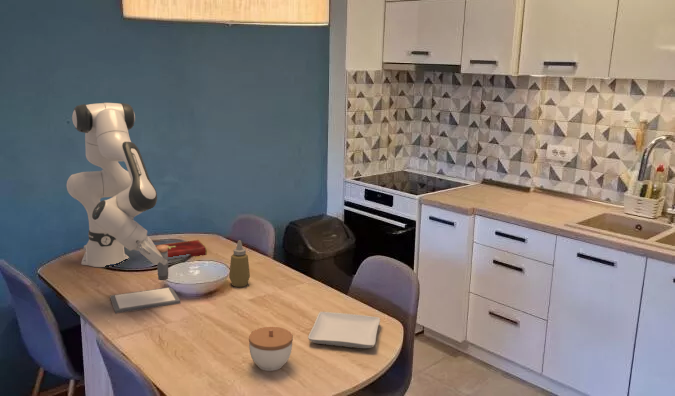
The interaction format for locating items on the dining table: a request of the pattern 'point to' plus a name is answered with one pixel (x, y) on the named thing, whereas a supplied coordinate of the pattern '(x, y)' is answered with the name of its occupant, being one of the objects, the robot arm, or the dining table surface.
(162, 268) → the marker
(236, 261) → the squeeze bottle
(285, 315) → the dining table surface
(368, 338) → the salad plate
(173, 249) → the hardcover book
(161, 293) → the writing board
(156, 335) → the dining table surface
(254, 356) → the lidded bowl
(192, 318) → the dining table surface
